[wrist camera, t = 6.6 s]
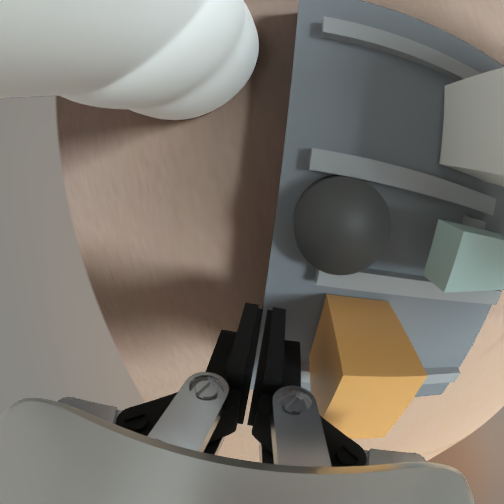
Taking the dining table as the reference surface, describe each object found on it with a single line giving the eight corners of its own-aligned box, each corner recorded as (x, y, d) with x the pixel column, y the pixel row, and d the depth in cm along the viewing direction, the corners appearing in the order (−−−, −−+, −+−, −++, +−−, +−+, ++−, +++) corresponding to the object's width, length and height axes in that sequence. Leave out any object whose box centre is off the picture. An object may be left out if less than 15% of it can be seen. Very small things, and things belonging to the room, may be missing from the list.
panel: (503, 88, 8) (539, 82, 5) (430, 371, 15) (447, 406, 12) (298, 12, 9) (300, -25, 6) (255, 361, 16) (247, 404, 13)
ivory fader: (491, 109, 7) (563, 106, 3) (486, 181, 9) (559, 205, 4) (444, 85, 8) (517, 63, 3) (439, 163, 9) (517, 179, 4)
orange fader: (388, 301, 11) (427, 375, 7) (364, 360, 12) (383, 437, 8) (326, 293, 11) (343, 375, 7) (308, 356, 13) (311, 438, 8)
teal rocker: (508, 236, 9) (527, 246, 8) (495, 277, 10) (513, 289, 8) (438, 219, 8) (463, 231, 7) (422, 275, 9) (444, 292, 8)
